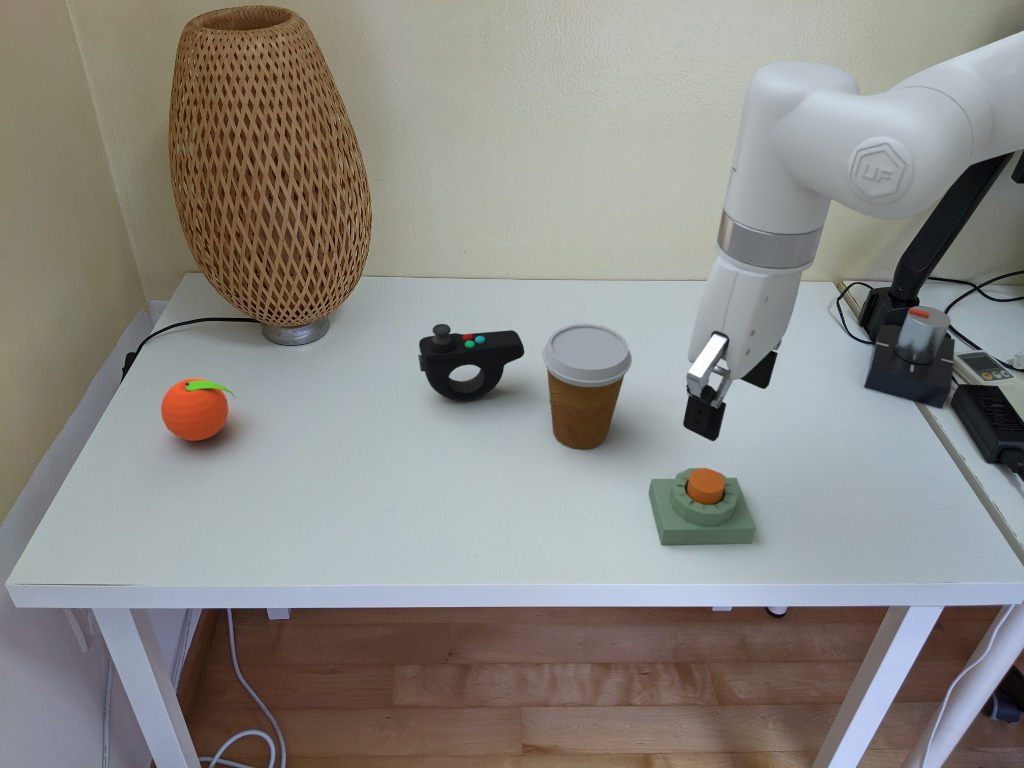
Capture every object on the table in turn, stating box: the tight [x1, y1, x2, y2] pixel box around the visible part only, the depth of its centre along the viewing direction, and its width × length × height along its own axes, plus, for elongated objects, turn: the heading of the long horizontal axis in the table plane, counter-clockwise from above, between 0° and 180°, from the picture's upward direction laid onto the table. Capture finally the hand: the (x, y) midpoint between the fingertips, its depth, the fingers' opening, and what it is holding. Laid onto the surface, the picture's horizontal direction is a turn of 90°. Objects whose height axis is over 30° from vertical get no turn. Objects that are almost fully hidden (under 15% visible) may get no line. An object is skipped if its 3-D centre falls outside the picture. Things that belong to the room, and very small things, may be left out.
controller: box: [418, 323, 525, 401], centre depth 91 cm, size 4×12×10 cm, turn 102°
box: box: [648, 467, 757, 546], centre depth 78 cm, size 9×7×4 cm
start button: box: [687, 467, 725, 505], centre depth 76 cm, size 3×3×2 cm
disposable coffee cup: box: [542, 323, 633, 450], centre depth 85 cm, size 10×10×12 cm
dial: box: [894, 305, 952, 364], centre depth 96 cm, size 5×5×6 cm
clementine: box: [160, 377, 237, 442], centre depth 86 cm, size 8×7×7 cm
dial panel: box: [863, 324, 956, 410], centre depth 98 cm, size 12×9×3 cm
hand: (726, 406), depth 70 cm, fingers open, 9 cm apart
